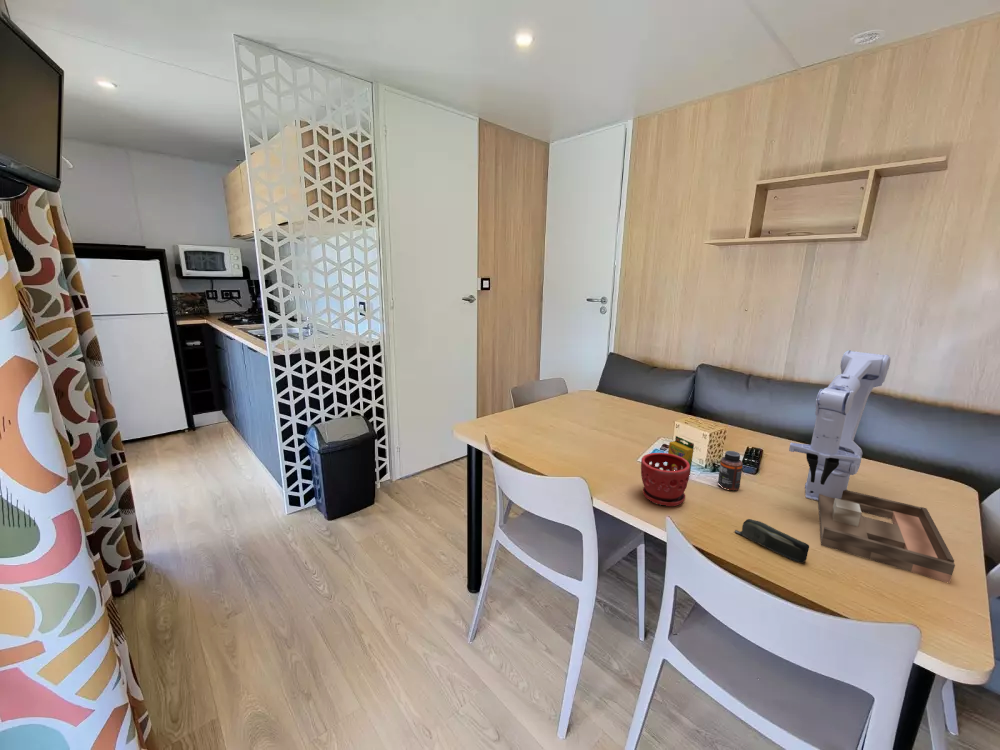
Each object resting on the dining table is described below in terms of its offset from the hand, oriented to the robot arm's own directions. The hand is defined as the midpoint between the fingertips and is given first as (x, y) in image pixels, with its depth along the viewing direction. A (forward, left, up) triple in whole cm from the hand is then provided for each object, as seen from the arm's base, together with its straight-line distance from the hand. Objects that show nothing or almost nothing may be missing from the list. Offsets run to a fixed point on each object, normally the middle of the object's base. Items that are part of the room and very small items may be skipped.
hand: (817, 481), depth 110 cm
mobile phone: (-8, -22, -11) cm, 26 cm away
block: (+7, 0, -8) cm, 11 cm away
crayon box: (-35, +6, -11) cm, 38 cm away
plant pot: (-35, -14, -11) cm, 40 cm away
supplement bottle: (-20, +5, -11) cm, 24 cm away
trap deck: (+13, 0, -10) cm, 17 cm away
